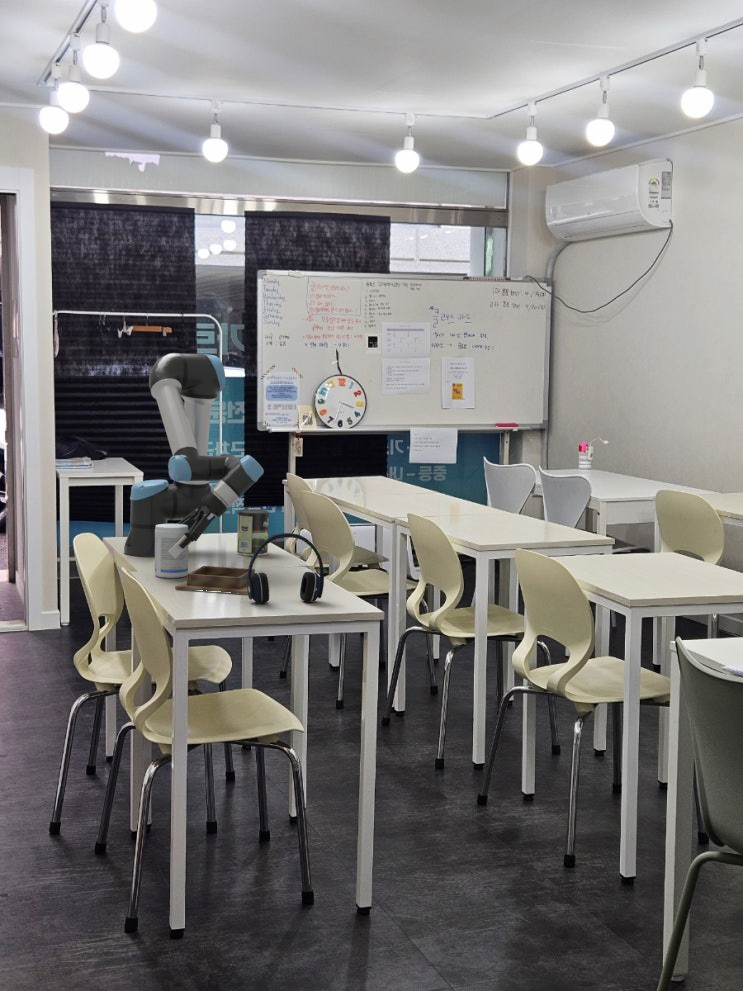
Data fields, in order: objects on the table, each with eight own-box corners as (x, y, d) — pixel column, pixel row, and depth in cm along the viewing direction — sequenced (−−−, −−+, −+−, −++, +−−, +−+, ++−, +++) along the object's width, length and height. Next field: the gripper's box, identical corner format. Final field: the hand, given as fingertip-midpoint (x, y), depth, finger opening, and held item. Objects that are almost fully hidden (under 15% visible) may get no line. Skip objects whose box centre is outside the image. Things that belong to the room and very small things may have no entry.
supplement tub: (194, 576, 341) (196, 525, 340) (171, 580, 334) (172, 528, 332) (170, 571, 347) (171, 522, 345) (147, 575, 339) (148, 524, 338)
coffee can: (269, 552, 392) (270, 510, 390) (265, 556, 382) (267, 513, 380) (238, 550, 392) (239, 508, 391) (234, 555, 382) (235, 512, 380)
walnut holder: (175, 589, 319) (175, 575, 319) (197, 577, 339) (198, 563, 339) (246, 594, 316) (247, 580, 316) (265, 582, 336) (265, 568, 336)
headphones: (318, 599, 315) (320, 531, 313) (325, 604, 308) (327, 535, 307) (244, 600, 309) (246, 531, 307) (250, 606, 302) (252, 535, 300)
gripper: (238, 513, 332) (184, 567, 328) (217, 503, 355) (167, 553, 352) (220, 495, 330) (166, 549, 326) (200, 486, 353) (149, 536, 349)
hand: (166, 551), depth 339 cm, fingers open, 13 cm apart
